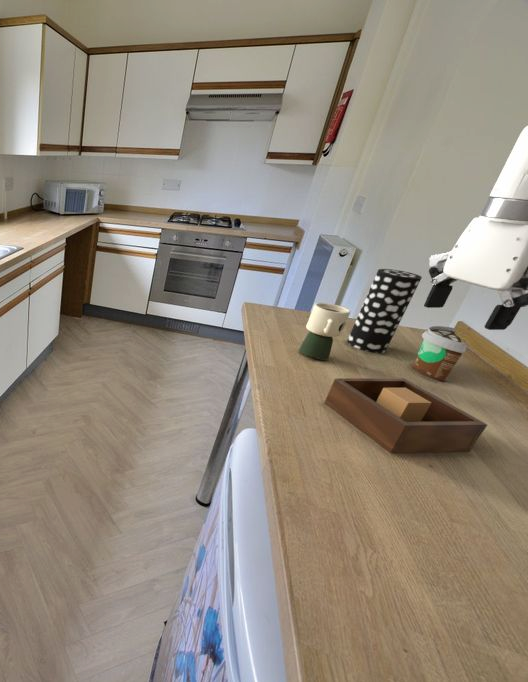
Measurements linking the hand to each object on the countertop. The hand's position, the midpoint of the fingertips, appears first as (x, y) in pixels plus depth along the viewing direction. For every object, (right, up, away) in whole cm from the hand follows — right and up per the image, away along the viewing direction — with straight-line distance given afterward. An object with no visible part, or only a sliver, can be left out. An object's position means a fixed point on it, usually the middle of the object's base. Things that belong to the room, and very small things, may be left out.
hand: (461, 317), depth 69 cm
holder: (-5, -20, +8) cm, 22 cm away
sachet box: (-5, -19, +8) cm, 21 cm away
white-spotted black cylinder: (+19, -5, +41) cm, 45 cm away
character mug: (-1, -8, +34) cm, 35 cm away
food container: (+23, -11, +29) cm, 39 cm away
